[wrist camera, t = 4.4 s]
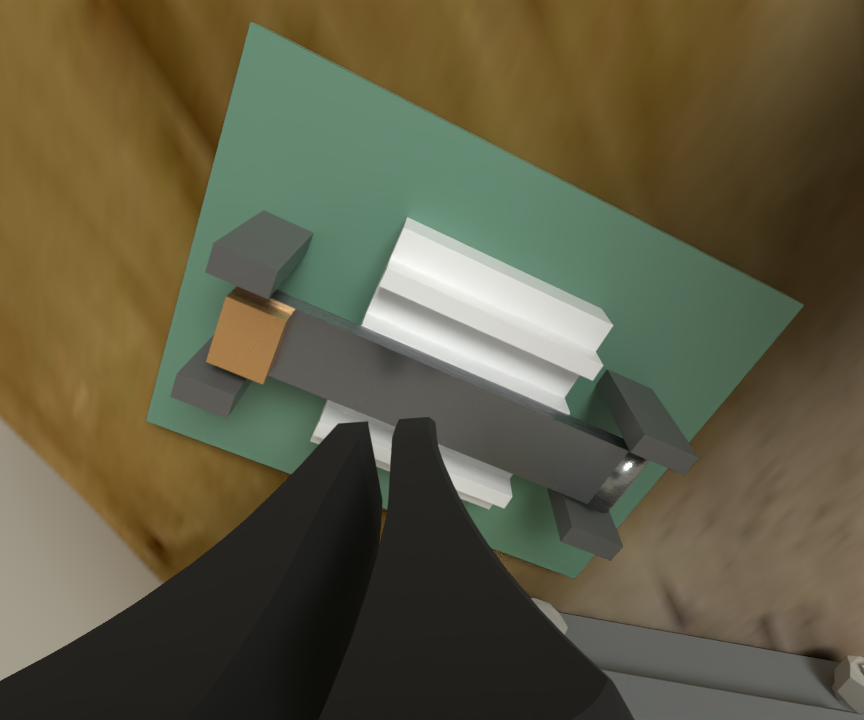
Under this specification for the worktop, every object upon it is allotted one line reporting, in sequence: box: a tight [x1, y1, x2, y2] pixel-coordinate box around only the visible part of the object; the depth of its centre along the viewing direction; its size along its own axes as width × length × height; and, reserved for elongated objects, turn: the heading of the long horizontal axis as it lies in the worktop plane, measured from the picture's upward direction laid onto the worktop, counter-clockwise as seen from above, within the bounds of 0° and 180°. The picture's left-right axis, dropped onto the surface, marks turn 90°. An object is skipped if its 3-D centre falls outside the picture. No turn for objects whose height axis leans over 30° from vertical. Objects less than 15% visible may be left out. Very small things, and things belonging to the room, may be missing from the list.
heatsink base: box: [146, 22, 804, 579], centre depth 15 cm, size 16×12×4 cm
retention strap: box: [206, 286, 650, 513], centre depth 14 cm, size 11×2×1 cm, turn 65°
